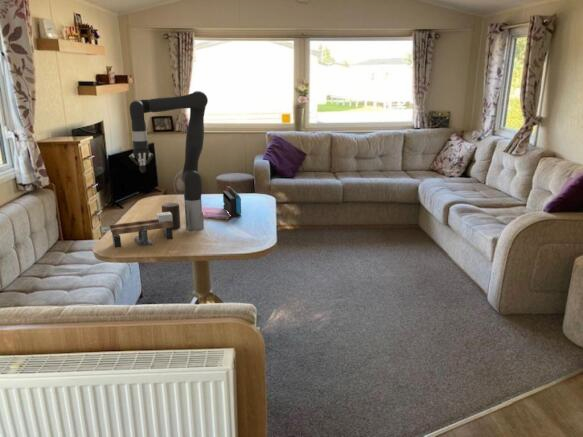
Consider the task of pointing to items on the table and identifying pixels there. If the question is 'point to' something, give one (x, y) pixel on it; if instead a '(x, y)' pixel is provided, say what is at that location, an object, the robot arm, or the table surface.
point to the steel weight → (164, 217)
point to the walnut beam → (138, 226)
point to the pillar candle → (173, 213)
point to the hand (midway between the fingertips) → (142, 172)
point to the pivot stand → (142, 237)
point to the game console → (232, 202)
